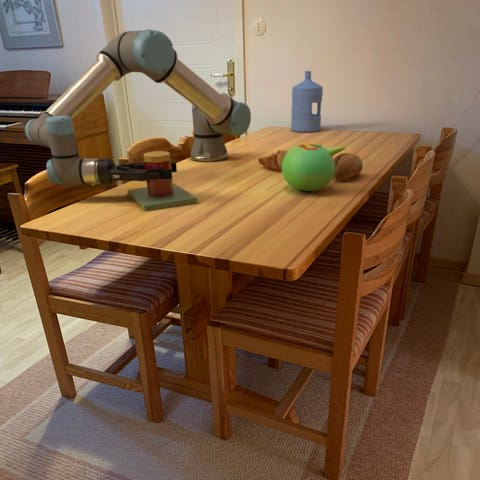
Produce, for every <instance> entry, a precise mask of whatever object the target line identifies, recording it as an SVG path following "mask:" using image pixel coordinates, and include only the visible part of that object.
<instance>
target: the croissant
mask: <svg viewBox="0 0 480 480" xmlns="http://www.w3.org/2000/svg"><path fill="white" fill-rule="evenodd" d="M287 152H288V151H285V150H281V149H280V150H278V151H277V152H276V153H271V154H270V155H268V156H263V157H260V158H257V159H258V161H257V162H258V164H260V165H261V166H263V167H264V168H265V169H267V170H272V171H277V172H278V171H279V172H282V162H283V159H284V157H285V155H286V154H287Z"/></svg>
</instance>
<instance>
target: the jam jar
mask: <svg viewBox="0 0 480 480" xmlns="http://www.w3.org/2000/svg"><path fill="white" fill-rule="evenodd" d="M143 162H144V167H145V170H148V171H149V169H171V170H172V168H171V163H172V160H171V159H170V160H169V161H166V162H159V163H149V162H145V161H144V160H143ZM149 180H150V182H146V181H145V183H146V187H147V193H148V196H150V197H167V196H171V195H173V194H174V191H173V184H174V182H173V178H172V179H150V178H149Z"/></svg>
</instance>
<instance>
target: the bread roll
mask: <svg viewBox="0 0 480 480" xmlns="http://www.w3.org/2000/svg"><path fill="white" fill-rule="evenodd" d="M333 159H334V162H335V173H334V176H333V178H334V179H335V180H337V181H345V180H349V179H351V178H352V177H355V176H357V175H359V174H361V172H362V170H363V167H364V165H363V161H362V158H360V156H359V155H357V154H354V153H349V152H344V153H340V154H339V153H338V155H336V156H335V157H334V158H333Z"/></svg>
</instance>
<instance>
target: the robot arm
mask: <svg viewBox="0 0 480 480" xmlns="http://www.w3.org/2000/svg"><path fill="white" fill-rule="evenodd" d="M173 46H174V44H173V42H172V40H171V39H170V38H169V37H168V36H167V35H166V33H164V32H162V31H159V30H156V29H148V28H147V29H142V30H128V31H124V32H121V33H119V34H118V35H116V36H115V37H114V38H113V39H112V40H110V41H109V42H107V44H106V45H105V46H104V47H102V49H101V50H100V51H99V52H98V53H97V54H96V55H95V61H94V62H93V63H92V64H91V65H90V66H89V67H88V68H87V69H86V70H85V71H84V72H83V73H82V74H81V75H80V77H78V78H77V79H76V80H75V81H74V82H73V83H72V84H71V85H70V86H69V87H68V88H67V89H66V90H65V91H64V92H63V93H62V94H61V95H60V96H59V97H58V98H57V99H56V100H55V101H54V102H53V103H52V104H51V105H50V106H49V107H48V108H47V109H46V110H45V111H44V112H43V113H42V114H41V115H40V116H39V117H37V118H33V119H30V120H28V121H27V123H26V124H25V127H24V133H25V136H26V138H27V139H28V140H29V141H30V142H31V143H33V144H35V145H37V146H40V147H46V148H49V149H50V152H51V156H52V157H51V159H49V160H48V161H47V162H46V165H45V167H46V176H47V178H48V181H49V182H50V183H51V184H53V185H60V186H61V185H63V186H70V185H71V186H73V185H75V186H76V185H91V187H94V186H95V185H100V184H101V185H114V184H115V182H119V181H120V182H121V181H122V182H123V181H124V182H125V181H126V182H145V183H146V182H150V180H149V178H150V179H173V173H177V172H178V169H177V167H178V166H177V162H171V168H172V170H171V169H149V171H148V170H145V167H144V161H137V162H136V161H134V162H126V161H124V162H122V163H120V162H119V163H118V165H117V164H115V163H114V160H113V159H112V158H96V157H94V158H80V157H79V151H78V145H77V138H76V132H75V126H74V122H75V120H76V119H77V118H79V117H80V115H82V114H83V112H84V111H85V110H87V108H89V106H90V105H91V104H92V103H93V102H95V100H96V99H97V98H98V97H100V96H101V94H102V93H103V92H104V91H105V90H106V89H107V88H108V87H109V86H110V85H111V84H112V83H113V82H114V81H115V82H118V81H120V80H121V79H122V78H123V77H124V76H126V75H128V74H131V73H142V74H144V75H145V76H146V77H148V78H149V79H150V80H152V81H153V82H154V83H156V84H162V83H164V84H165V85H166V86H168V87H169V88H170V89H171V90H173V91H174V92H176V93H177V94H179V96H181V97H182V98H184V99H185V100H186V101H188V102H189V103H190V104H191V114H192V115H191V116H192V126H193V128H192V129H193V143H192V147H191V152H190V159H191V160H192V161H196V162H206V163H207V162H220V161H223V160H226V159H228V157H229V155H228V154H229V152H228V150H227V147H226V144H225V141H224V138H223V137H224V135H228V136H229V135H230V136H232V137H233V136H234V137H239V136H243V135H244V134H245V133H246V132H247V131H248V130H249V128H250V126H251V121H252V113H251V109H250V107H249V106H248V105H247V104H246V103H245V102H242V101H236V100H235V99H234V98H233V97H231V96H230V95H229V94H228V93H226V92H223V93H222V92H221V93H219V92H218V91H217V90H216V89H215V88H213V87H212V86H211V84H209V83H207V82H206V81H205V80H204V79H203V78H201V77H200V76H199V75H198V74H196V72H194V71H193V70H192V69H190V68H189V67H188V65H186V64H185V63H183V62H182V61H181V60H180V59H179V58H178V54H177V51H176V50H175V48H174V47H173ZM223 134H224V135H223Z"/></svg>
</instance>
